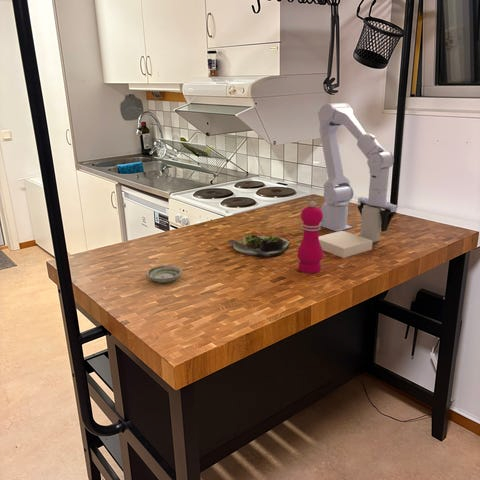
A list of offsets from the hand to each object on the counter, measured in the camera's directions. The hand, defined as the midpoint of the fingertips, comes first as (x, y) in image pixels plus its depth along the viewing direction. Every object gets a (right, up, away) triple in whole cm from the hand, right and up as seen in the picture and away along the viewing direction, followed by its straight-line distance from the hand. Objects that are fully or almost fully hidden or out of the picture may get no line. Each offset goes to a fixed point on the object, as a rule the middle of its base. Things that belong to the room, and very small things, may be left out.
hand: (374, 228), depth 160 cm
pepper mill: (-26, -12, -24) cm, 37 cm away
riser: (-12, -7, -7) cm, 16 cm away
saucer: (-66, -15, -30) cm, 74 cm away
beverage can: (-2, -4, 0) cm, 5 cm away
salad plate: (-38, -7, -7) cm, 40 cm away
